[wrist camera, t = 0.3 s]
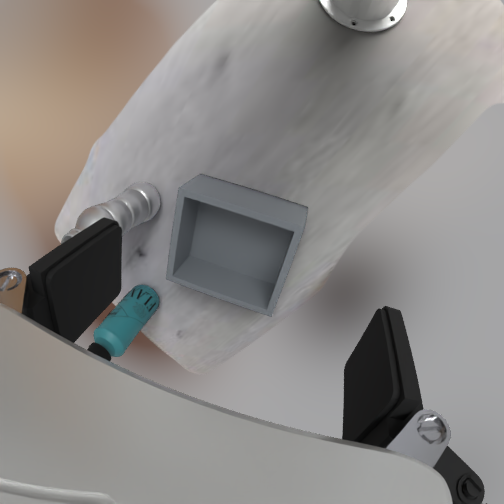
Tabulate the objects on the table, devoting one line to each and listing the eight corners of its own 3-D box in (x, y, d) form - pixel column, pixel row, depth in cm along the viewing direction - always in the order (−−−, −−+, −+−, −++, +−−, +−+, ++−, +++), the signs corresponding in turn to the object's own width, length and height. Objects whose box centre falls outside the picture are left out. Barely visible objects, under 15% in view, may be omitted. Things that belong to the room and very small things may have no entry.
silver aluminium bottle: (130, 208, 53) (54, 260, 36) (136, 173, 50) (53, 215, 32) (160, 221, 53) (90, 281, 35) (168, 185, 50) (91, 234, 32)
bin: (200, 173, 48) (178, 187, 41) (308, 207, 46) (304, 227, 39) (185, 255, 55) (166, 279, 48) (279, 287, 54) (271, 316, 47)
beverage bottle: (169, 296, 60) (117, 367, 42) (153, 312, 63) (103, 379, 46) (144, 273, 59) (84, 338, 41) (130, 290, 62) (74, 353, 44)
